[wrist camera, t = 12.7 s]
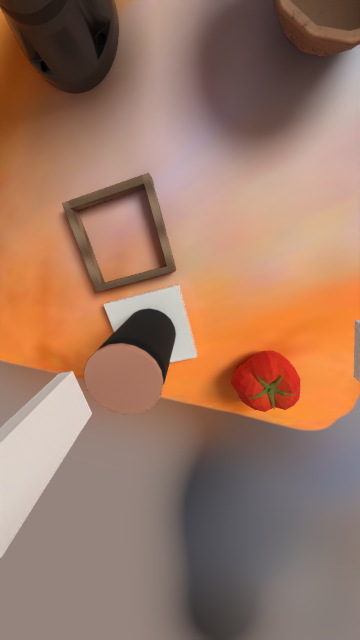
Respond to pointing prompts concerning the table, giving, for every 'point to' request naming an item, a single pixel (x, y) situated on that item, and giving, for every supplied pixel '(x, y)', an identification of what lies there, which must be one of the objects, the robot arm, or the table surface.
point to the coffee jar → (132, 363)
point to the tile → (165, 302)
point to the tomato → (267, 382)
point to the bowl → (320, 24)
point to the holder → (105, 195)
